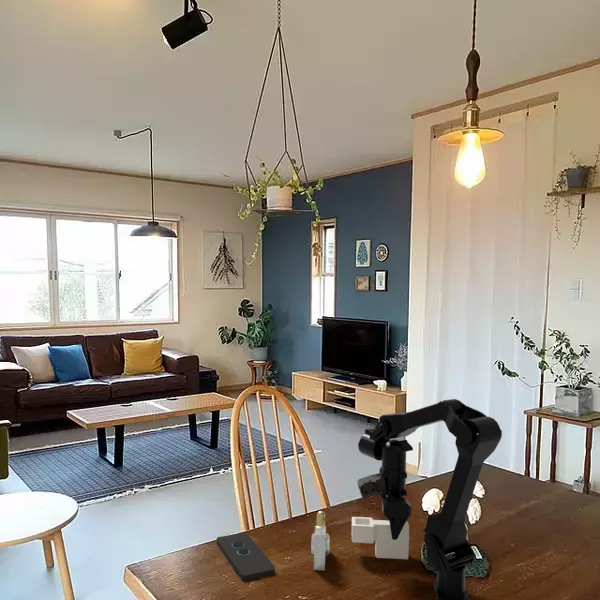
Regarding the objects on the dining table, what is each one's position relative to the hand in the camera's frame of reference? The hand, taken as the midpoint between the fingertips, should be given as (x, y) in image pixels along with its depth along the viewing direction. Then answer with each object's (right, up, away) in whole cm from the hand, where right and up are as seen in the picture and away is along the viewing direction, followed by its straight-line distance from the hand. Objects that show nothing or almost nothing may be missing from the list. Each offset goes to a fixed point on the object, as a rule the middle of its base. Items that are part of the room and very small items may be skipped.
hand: (392, 530), depth 132 cm
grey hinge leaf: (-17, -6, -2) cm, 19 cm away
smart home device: (-35, -6, -1) cm, 36 cm away
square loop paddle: (-3, -6, 0) cm, 7 cm away
